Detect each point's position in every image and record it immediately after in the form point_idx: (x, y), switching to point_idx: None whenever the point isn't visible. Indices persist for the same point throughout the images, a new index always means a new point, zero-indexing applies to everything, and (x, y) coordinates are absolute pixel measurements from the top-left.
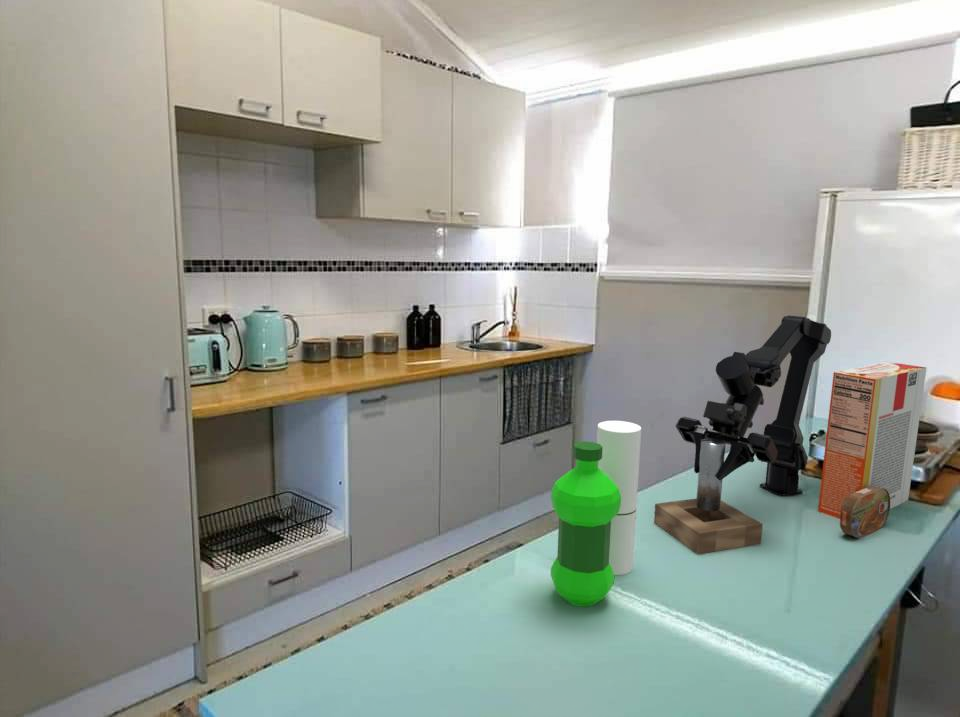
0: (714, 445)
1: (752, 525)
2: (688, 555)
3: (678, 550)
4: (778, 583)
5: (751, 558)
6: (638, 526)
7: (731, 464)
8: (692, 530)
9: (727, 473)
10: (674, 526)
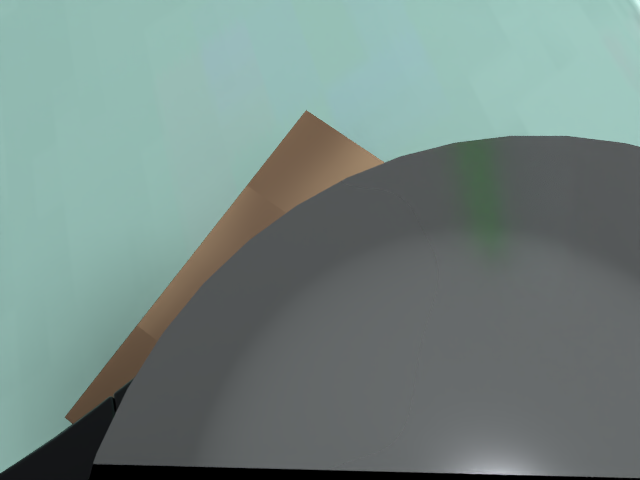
0: (375, 180)
1: (109, 360)
2: (333, 123)
3: (377, 138)
4: (18, 110)
5: (128, 240)
6: None
7: None
8: (346, 140)
9: None
10: None
